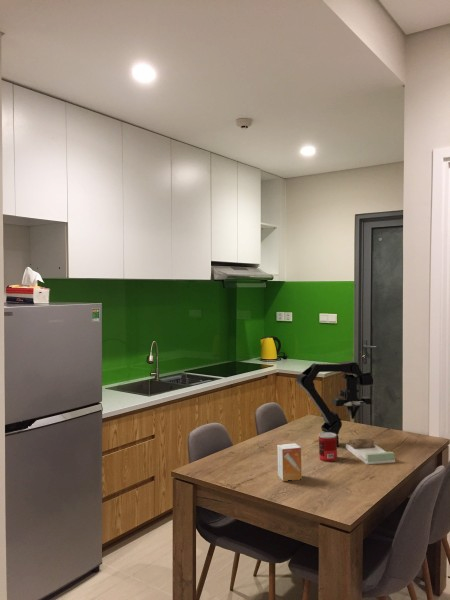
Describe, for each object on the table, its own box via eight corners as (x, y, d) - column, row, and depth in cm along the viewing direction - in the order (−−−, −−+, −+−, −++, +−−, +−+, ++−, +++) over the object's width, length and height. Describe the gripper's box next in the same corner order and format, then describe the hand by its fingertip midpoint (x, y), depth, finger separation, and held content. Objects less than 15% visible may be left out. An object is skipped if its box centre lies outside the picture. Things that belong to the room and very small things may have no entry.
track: (366, 464, 217) (366, 455, 217) (345, 448, 240) (345, 439, 240) (395, 462, 219) (395, 452, 219) (371, 446, 242) (371, 437, 242)
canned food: (340, 458, 225) (339, 434, 225) (331, 463, 220) (330, 438, 220) (325, 455, 231) (325, 431, 231) (316, 459, 225) (315, 435, 225)
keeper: (352, 448, 235) (352, 442, 235) (349, 446, 239) (349, 439, 239) (373, 447, 237) (373, 440, 237) (370, 444, 241) (369, 438, 241)
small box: (282, 482, 199) (282, 449, 199) (277, 476, 205) (276, 444, 205) (302, 479, 201) (301, 447, 201) (296, 474, 207) (295, 442, 207)
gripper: (363, 383, 257) (363, 413, 257) (327, 385, 254) (328, 416, 254) (372, 387, 246) (373, 419, 246) (335, 389, 243) (336, 421, 243)
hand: (352, 418), depth 248 cm, fingers closed
